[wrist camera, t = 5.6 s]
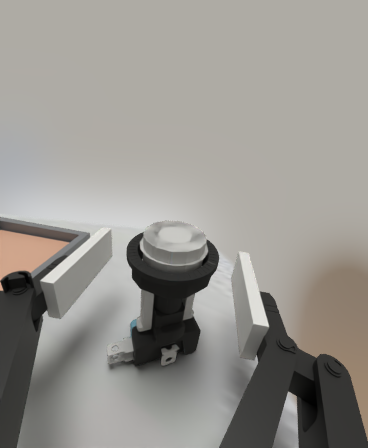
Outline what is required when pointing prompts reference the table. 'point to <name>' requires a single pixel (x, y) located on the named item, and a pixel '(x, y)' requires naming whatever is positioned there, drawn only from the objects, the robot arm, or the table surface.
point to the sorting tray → (34, 245)
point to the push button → (166, 291)
